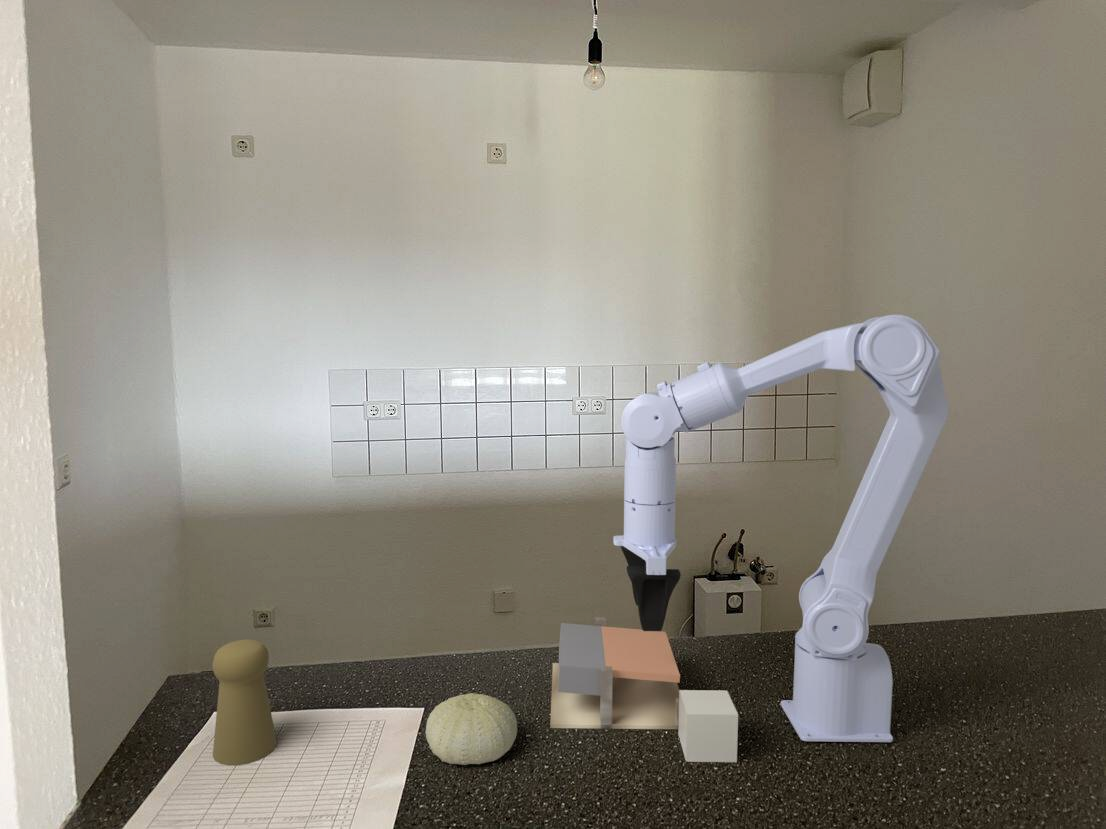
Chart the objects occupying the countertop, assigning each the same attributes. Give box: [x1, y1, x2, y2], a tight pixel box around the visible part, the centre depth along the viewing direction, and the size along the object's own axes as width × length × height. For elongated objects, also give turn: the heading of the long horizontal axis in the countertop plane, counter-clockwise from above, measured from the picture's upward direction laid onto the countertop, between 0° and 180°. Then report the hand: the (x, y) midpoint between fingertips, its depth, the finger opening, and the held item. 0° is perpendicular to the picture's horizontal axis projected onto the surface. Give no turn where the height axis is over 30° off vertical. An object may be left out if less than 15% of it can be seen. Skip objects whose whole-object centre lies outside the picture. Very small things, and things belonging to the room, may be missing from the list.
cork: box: [212, 639, 277, 766], centre depth 75 cm, size 6×6×11 cm
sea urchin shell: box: [425, 692, 518, 766], centre depth 76 cm, size 9×8×8 cm
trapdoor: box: [558, 622, 681, 696], centre depth 87 cm, size 13×12×3 cm
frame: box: [549, 616, 680, 730], centre depth 87 cm, size 15×15×6 cm
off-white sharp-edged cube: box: [677, 689, 739, 763], centre depth 76 cm, size 5×5×5 cm
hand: (647, 616), depth 85 cm, fingers open, 7 cm apart
